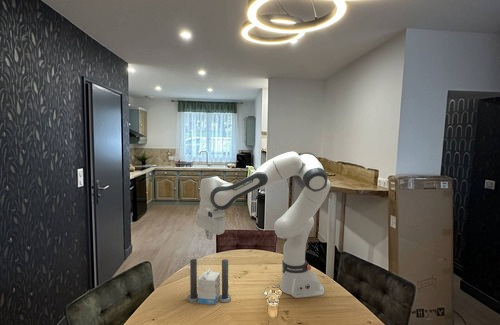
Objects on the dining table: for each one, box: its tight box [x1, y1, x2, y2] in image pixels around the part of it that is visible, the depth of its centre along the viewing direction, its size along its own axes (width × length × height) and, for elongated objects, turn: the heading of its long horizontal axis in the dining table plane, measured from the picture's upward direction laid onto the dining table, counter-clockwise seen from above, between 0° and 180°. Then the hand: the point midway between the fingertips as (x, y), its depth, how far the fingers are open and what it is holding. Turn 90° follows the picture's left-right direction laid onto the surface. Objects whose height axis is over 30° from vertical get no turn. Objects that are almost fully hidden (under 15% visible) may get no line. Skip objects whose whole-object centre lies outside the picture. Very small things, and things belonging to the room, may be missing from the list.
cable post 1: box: [186, 258, 198, 304], centre depth 130 cm, size 6×6×19 cm
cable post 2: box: [218, 258, 232, 304], centre depth 130 cm, size 6×6×19 cm
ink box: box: [197, 268, 221, 306], centre depth 130 cm, size 9×8×13 cm
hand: (209, 238), depth 129 cm, fingers closed
